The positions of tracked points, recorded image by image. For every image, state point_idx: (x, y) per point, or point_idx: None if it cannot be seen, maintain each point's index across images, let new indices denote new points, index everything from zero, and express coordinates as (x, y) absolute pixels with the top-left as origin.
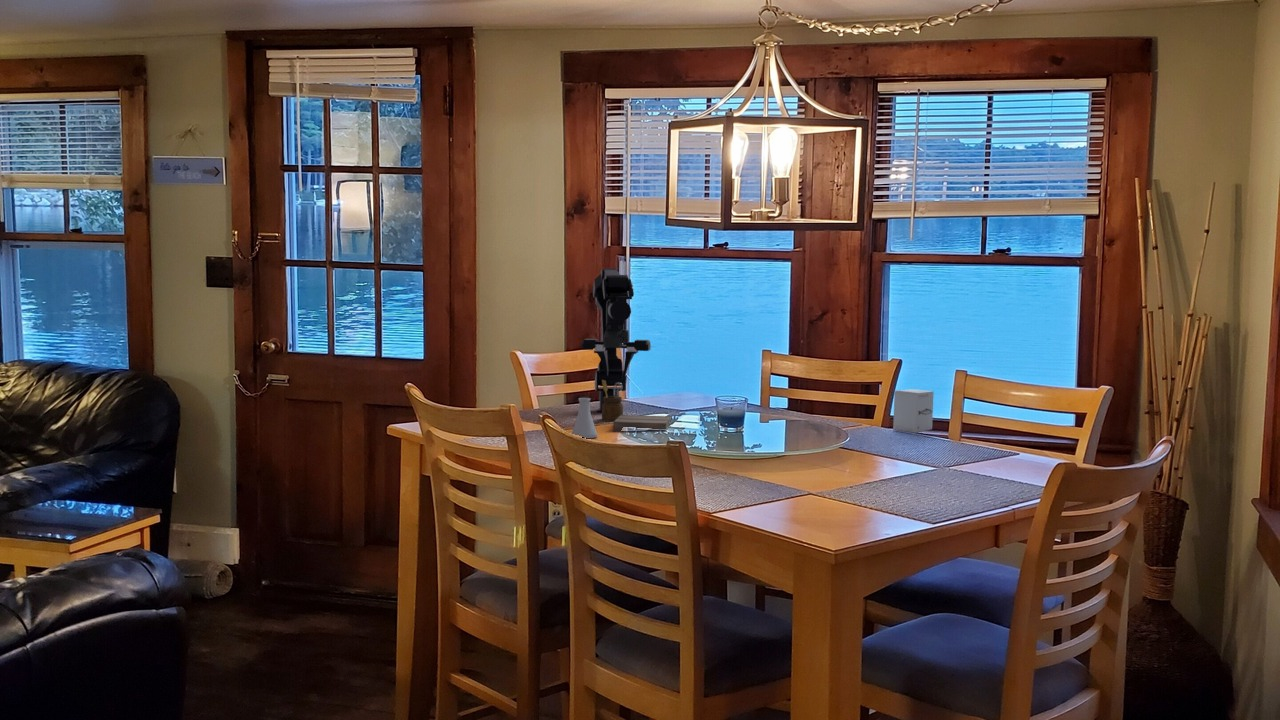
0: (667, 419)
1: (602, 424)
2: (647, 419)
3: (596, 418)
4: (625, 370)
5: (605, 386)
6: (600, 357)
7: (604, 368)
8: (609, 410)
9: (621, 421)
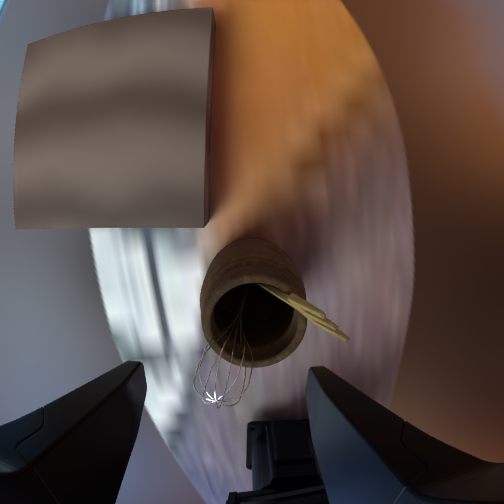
0: (17, 138)
1: (283, 196)
2: (77, 110)
3: (321, 352)
4: (104, 380)
5: (308, 313)
6: (478, 465)
7: (362, 397)
8: (261, 248)
9: (179, 25)
